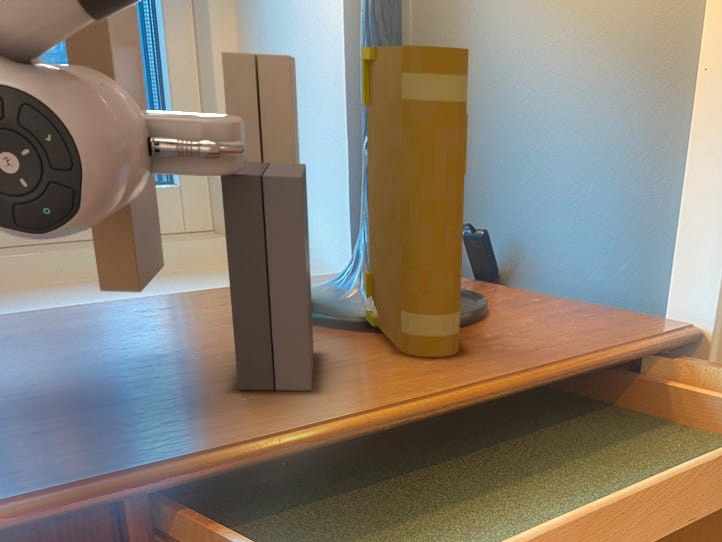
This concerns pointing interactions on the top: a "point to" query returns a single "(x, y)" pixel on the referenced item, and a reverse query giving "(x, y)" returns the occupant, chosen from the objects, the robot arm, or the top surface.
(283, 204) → the grey books
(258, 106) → the cream books
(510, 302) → the top surface
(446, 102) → the book
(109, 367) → the top surface
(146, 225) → the cream book
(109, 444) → the top surface
